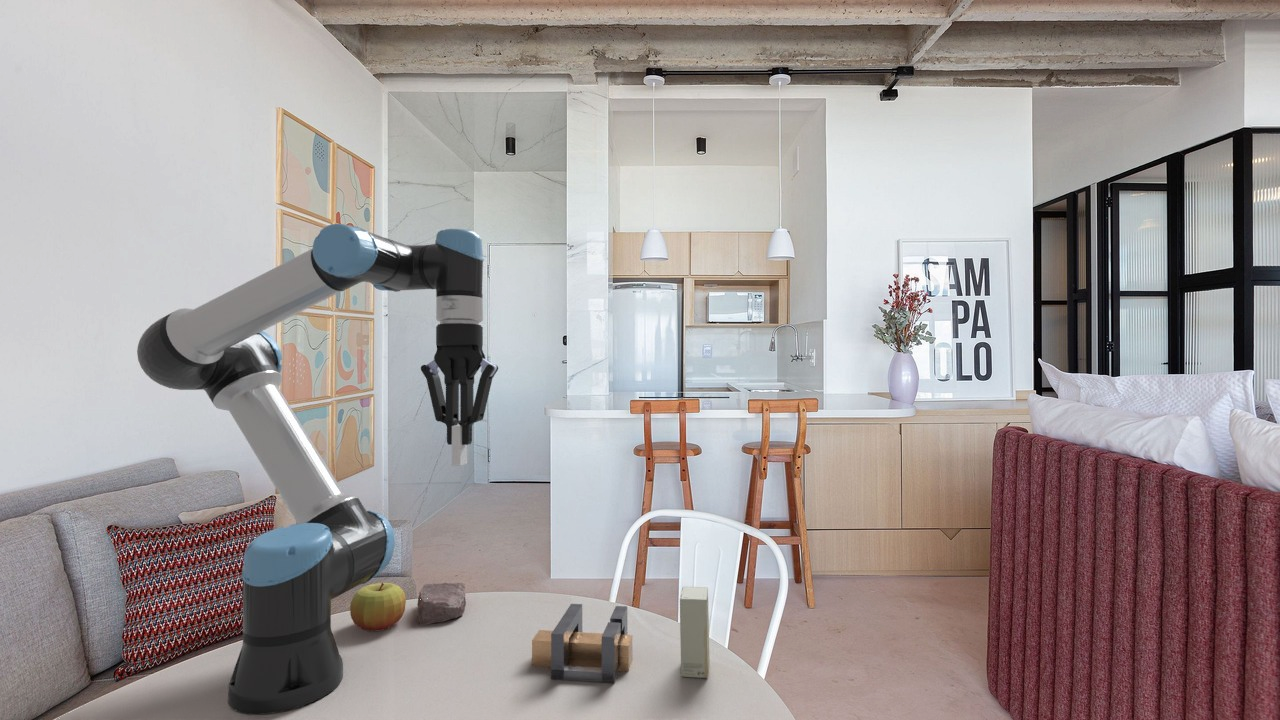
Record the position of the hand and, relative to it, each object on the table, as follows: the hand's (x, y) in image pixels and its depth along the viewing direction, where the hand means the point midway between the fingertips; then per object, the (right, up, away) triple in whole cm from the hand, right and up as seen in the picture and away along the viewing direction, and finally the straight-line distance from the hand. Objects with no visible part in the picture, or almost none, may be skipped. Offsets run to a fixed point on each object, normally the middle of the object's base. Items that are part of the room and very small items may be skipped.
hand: (459, 464), depth 103 cm
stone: (-9, -33, +20) cm, 40 cm away
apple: (-19, -33, +13) cm, 40 cm away
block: (+21, -32, -1) cm, 38 cm away
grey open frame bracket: (+22, -32, -2) cm, 39 cm away
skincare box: (+39, -32, -4) cm, 51 cm away
